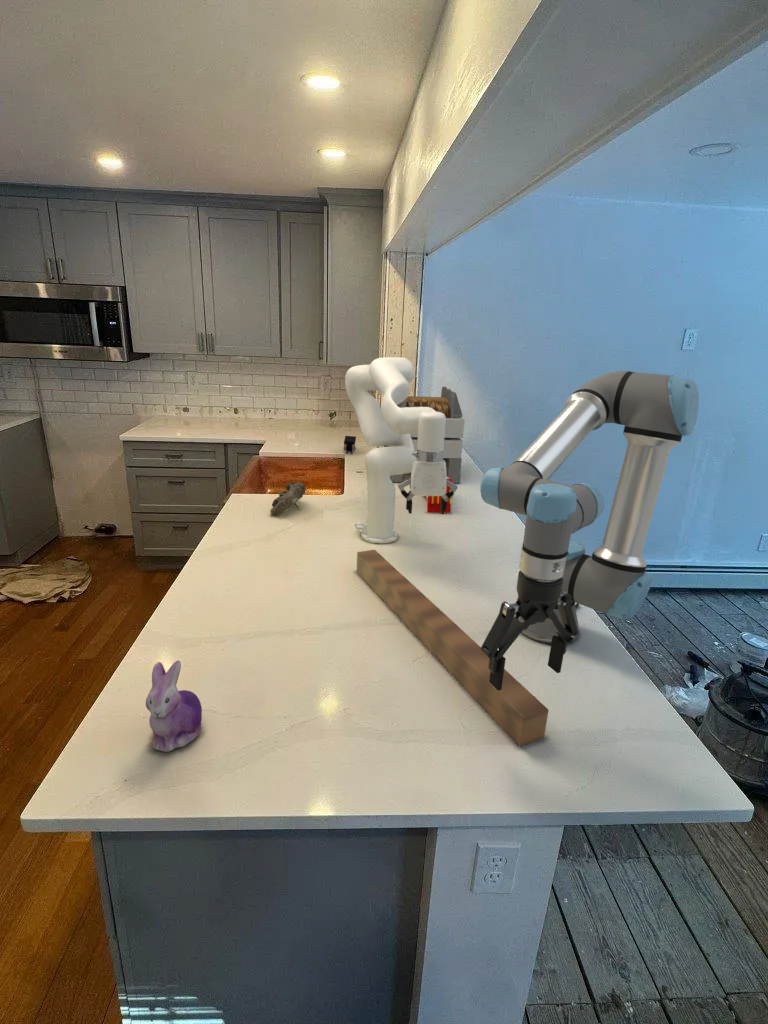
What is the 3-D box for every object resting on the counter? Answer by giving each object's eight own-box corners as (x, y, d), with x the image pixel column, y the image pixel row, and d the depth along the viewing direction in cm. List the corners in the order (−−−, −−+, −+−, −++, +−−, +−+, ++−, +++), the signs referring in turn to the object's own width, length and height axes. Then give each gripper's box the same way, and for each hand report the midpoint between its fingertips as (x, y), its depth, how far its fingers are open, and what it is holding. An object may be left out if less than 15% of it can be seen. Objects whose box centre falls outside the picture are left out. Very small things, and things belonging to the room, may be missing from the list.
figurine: (153, 762, 97) (144, 689, 92) (146, 724, 105) (138, 655, 100) (210, 745, 101) (204, 674, 96) (199, 710, 109) (193, 643, 104)
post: (356, 571, 170) (357, 552, 168) (373, 569, 172) (374, 549, 170) (519, 746, 104) (523, 717, 102) (543, 738, 107) (548, 709, 104)
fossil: (276, 488, 229) (303, 468, 224) (291, 505, 232) (319, 486, 227) (260, 511, 209) (290, 490, 204) (277, 530, 212) (307, 510, 207)
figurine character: (355, 457, 303) (356, 447, 317) (355, 444, 300) (356, 434, 313) (342, 457, 303) (344, 447, 316) (343, 443, 300) (344, 434, 313)
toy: (446, 469, 247) (456, 480, 217) (444, 499, 249) (454, 514, 220) (418, 468, 246) (425, 479, 217) (416, 499, 249) (423, 513, 219)
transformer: (382, 463, 289) (386, 382, 275) (445, 464, 293) (451, 384, 279) (390, 482, 257) (394, 392, 243) (460, 483, 261) (468, 394, 247)
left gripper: (400, 458, 157) (397, 516, 163) (462, 459, 158) (457, 517, 164) (398, 451, 164) (395, 507, 170) (457, 453, 165) (452, 508, 171)
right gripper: (494, 595, 89) (480, 706, 97) (611, 571, 100) (590, 673, 107) (468, 575, 96) (457, 681, 103) (580, 555, 106) (563, 652, 113)
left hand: (426, 512), depth 167 cm, fingers open, 9 cm apart
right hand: (525, 677), depth 105 cm, fingers open, 13 cm apart
